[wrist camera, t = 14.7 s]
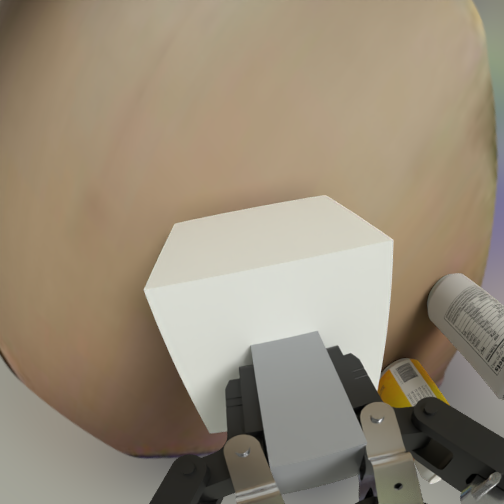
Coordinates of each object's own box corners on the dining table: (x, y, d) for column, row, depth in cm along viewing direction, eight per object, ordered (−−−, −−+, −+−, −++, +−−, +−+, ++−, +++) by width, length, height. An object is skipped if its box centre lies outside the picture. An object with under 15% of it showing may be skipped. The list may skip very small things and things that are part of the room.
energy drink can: (425, 327, 28) (501, 421, 14) (420, 287, 25) (517, 387, 12) (463, 300, 27) (544, 379, 13) (461, 259, 25) (562, 337, 11)
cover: (174, 223, 19) (97, 412, 5) (325, 194, 19) (492, 318, 6) (210, 343, 23) (212, 521, 9) (333, 317, 23) (414, 472, 10)
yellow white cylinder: (377, 397, 32) (423, 490, 18) (370, 371, 29) (427, 478, 15) (417, 374, 31) (472, 459, 17) (415, 346, 29) (483, 440, 15)
